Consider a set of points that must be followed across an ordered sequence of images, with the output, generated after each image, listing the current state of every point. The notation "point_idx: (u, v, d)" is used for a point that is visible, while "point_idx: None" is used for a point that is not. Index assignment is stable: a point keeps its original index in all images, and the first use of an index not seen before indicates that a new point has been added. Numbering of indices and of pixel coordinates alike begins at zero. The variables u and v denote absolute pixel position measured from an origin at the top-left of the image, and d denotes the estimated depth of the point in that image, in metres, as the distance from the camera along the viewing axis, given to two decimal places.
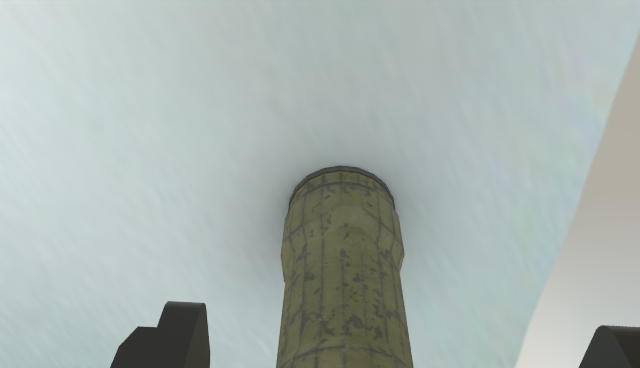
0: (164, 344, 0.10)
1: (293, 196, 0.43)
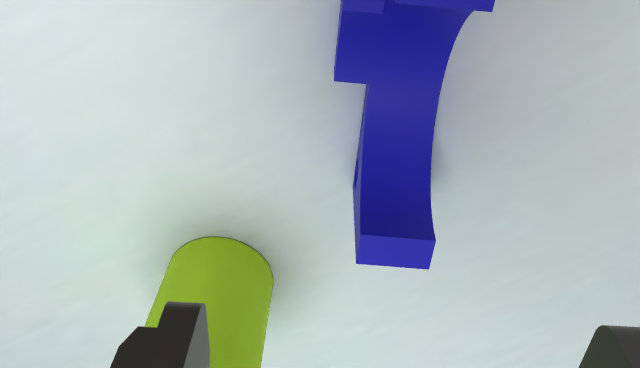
0: (164, 344, 0.10)
1: None
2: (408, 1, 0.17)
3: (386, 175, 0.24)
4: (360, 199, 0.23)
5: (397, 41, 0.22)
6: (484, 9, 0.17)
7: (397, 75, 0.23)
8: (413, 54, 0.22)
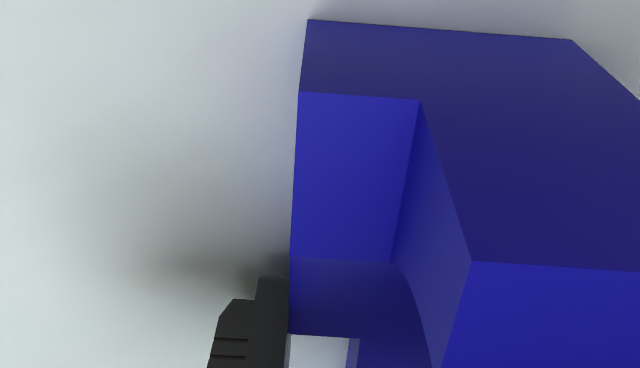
0: (265, 313, 0.10)
1: None
2: None
3: None
4: None
5: None
6: None
7: (418, 325, 0.11)
8: None
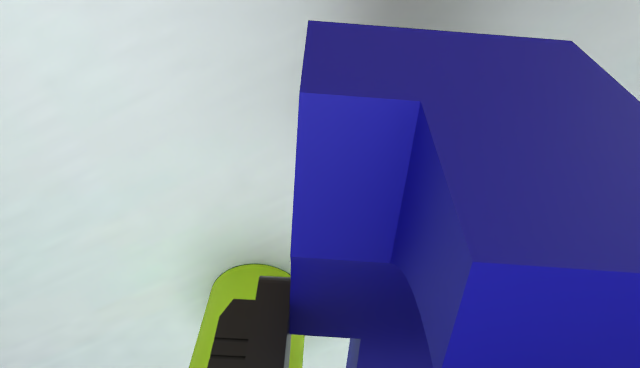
0: (265, 313, 0.10)
1: None
2: None
3: None
4: None
5: None
6: None
7: (419, 325, 0.11)
8: None
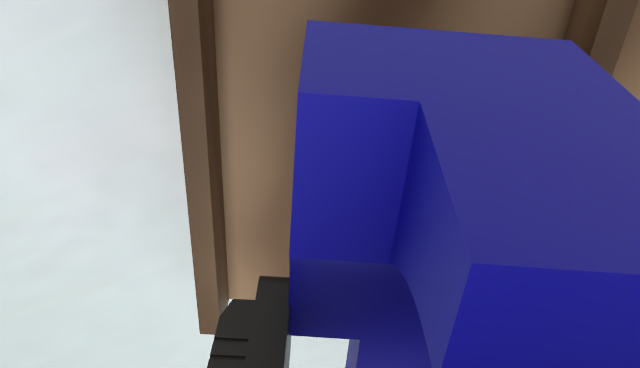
0: (265, 313, 0.10)
1: None
2: None
3: None
4: None
5: None
6: None
7: (418, 326, 0.11)
8: None
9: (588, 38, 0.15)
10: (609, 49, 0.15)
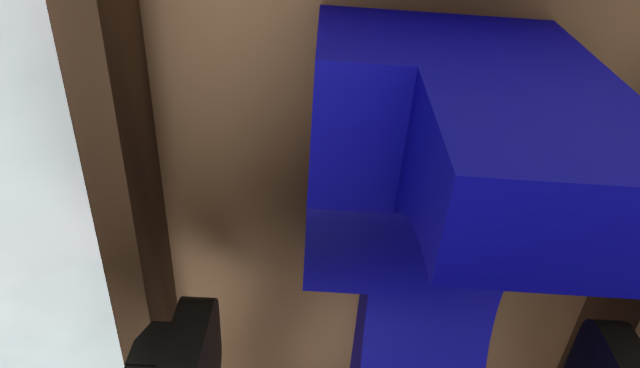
0: (179, 338, 0.10)
1: None
2: (466, 284, 0.06)
3: None
4: None
5: None
6: None
7: (420, 281, 0.12)
8: None
9: None
10: None
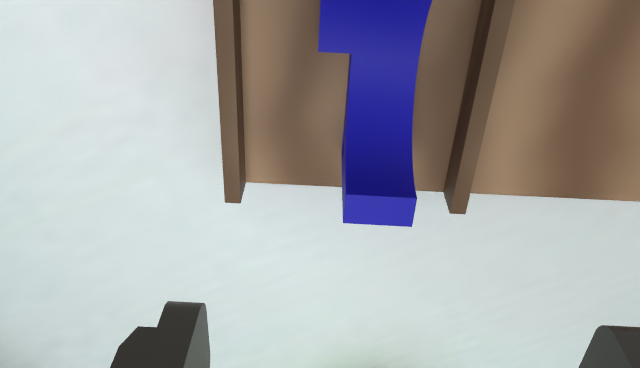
0: (164, 344, 0.10)
1: None
2: None
3: (370, 140, 0.25)
4: (346, 163, 0.25)
5: (375, 11, 0.23)
6: None
7: (378, 44, 0.24)
8: (392, 23, 0.23)
9: None
10: None
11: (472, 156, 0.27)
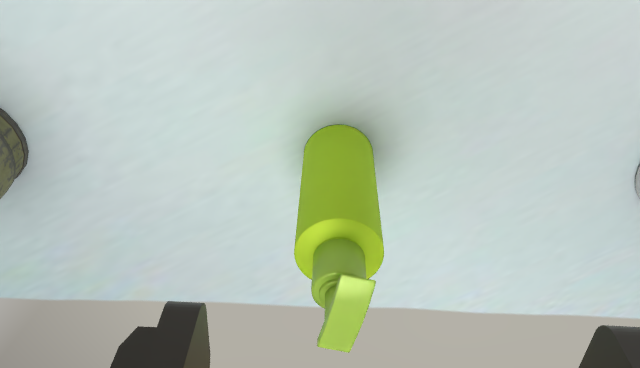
0: (164, 344, 0.10)
1: None
2: None
3: None
4: None
5: None
6: None
7: None
8: None
9: None
10: None
11: None
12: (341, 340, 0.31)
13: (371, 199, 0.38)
